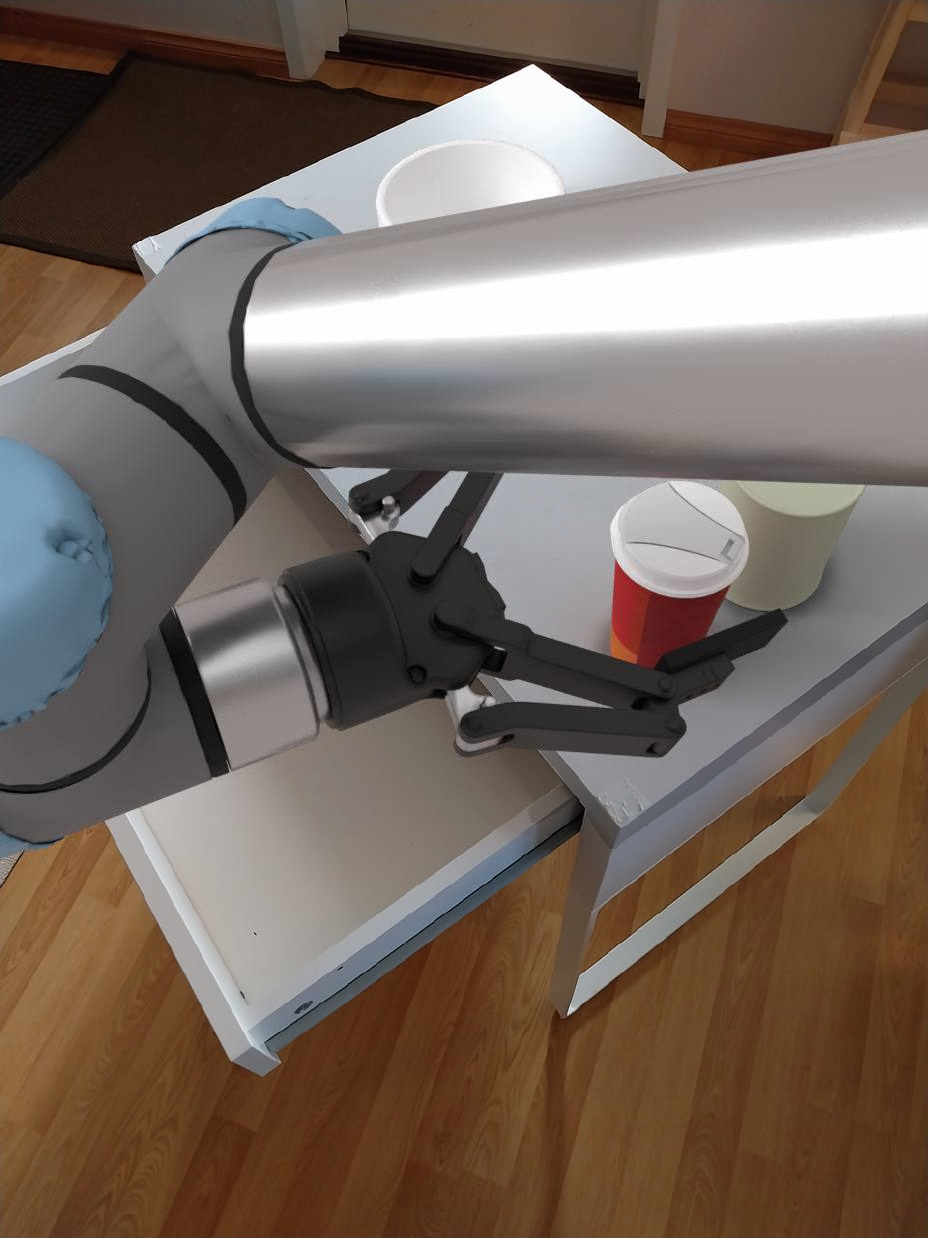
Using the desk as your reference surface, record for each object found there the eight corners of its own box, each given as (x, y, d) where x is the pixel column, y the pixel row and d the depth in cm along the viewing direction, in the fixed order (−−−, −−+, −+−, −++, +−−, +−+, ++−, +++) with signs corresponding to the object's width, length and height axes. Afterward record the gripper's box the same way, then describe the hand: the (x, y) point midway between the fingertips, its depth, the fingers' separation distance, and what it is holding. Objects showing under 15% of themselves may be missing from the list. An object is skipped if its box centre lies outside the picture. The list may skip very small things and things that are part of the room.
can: (690, 516, 75) (719, 409, 64) (807, 511, 74) (854, 402, 64) (709, 614, 70) (743, 515, 60) (834, 609, 70) (889, 508, 59)
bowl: (427, 354, 86) (419, 278, 78) (360, 247, 94) (348, 169, 87) (594, 296, 89) (601, 218, 82) (514, 197, 97) (514, 119, 90)
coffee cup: (727, 635, 69) (776, 507, 56) (678, 722, 65) (718, 607, 53) (625, 586, 71) (649, 453, 59) (572, 667, 68) (586, 545, 55)
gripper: (216, 486, 49) (567, 388, 55) (406, 942, 39) (803, 759, 46) (199, 388, 42) (599, 289, 49) (422, 906, 33) (883, 698, 39)
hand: (699, 516), depth 47 cm, fingers open, 13 cm apart
